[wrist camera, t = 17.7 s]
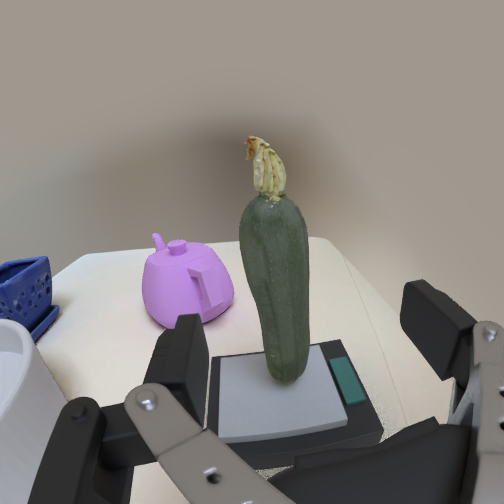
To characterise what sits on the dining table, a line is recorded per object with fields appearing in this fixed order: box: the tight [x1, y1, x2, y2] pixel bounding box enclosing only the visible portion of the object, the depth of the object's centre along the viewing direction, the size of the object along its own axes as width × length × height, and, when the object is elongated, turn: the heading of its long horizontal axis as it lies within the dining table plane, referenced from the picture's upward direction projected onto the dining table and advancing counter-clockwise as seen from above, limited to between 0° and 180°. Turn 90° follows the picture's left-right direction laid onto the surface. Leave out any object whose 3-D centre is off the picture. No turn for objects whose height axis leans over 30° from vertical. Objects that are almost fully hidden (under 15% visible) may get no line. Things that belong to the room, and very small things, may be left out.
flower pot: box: [0, 256, 59, 341], centre depth 38 cm, size 13×13×12 cm
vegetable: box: [239, 136, 310, 383], centre depth 20 cm, size 4×4×20 cm
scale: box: [207, 339, 384, 470], centre depth 24 cm, size 14×13×4 cm
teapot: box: [142, 233, 234, 329], centre depth 43 cm, size 13×20×11 cm
